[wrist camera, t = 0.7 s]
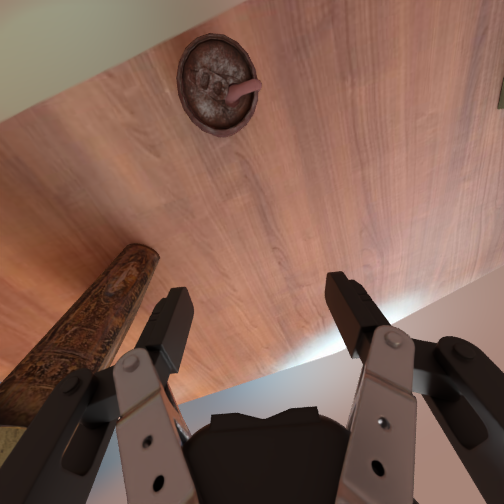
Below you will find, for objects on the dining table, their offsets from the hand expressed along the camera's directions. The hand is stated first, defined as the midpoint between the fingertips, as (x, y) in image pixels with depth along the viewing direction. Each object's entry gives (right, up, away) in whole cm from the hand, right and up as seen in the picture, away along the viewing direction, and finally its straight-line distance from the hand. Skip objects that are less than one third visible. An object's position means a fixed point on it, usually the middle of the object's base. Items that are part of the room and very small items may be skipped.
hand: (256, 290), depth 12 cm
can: (-4, +21, +15) cm, 26 cm away
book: (-22, -3, +26) cm, 35 cm away
